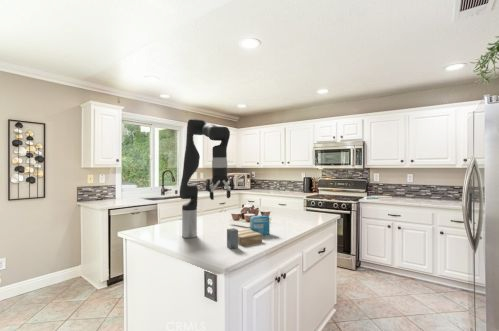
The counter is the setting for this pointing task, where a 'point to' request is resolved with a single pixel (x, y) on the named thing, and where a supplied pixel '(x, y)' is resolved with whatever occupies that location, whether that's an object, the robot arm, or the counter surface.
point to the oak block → (248, 237)
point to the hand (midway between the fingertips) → (220, 198)
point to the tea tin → (232, 238)
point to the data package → (260, 224)
